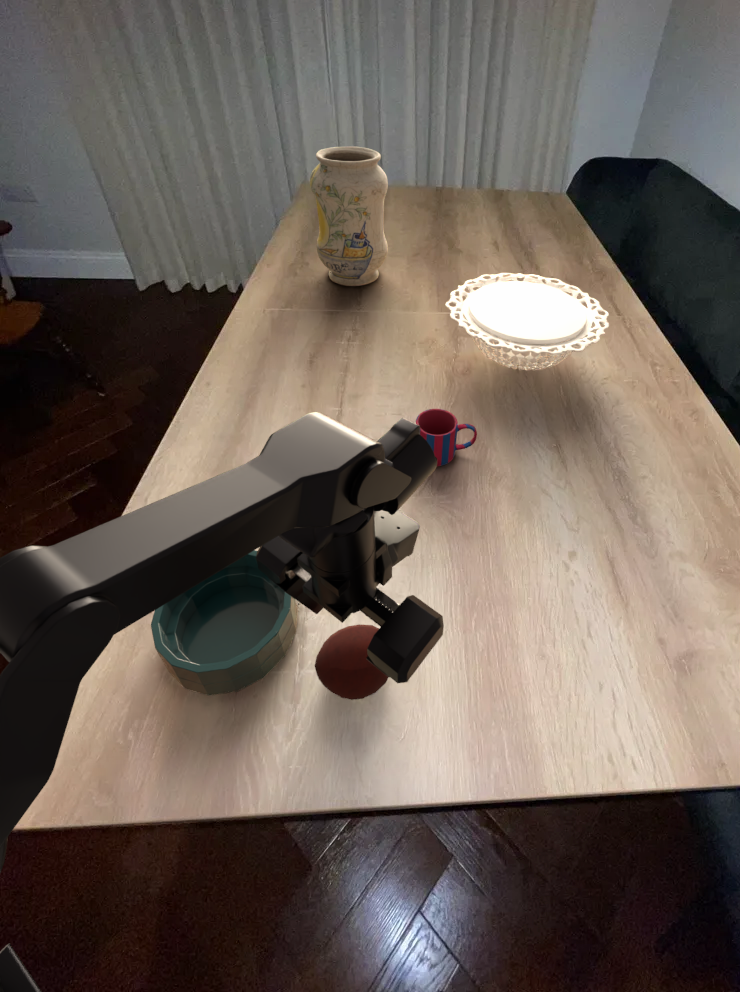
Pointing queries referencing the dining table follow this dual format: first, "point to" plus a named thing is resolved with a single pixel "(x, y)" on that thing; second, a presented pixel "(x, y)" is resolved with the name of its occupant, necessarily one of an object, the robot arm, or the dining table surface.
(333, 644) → the potato
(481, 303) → the white lattice bowl
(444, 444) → the mug
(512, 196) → the dining table surface
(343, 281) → the vase
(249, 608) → the bowl
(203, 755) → the dining table surface
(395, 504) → the robot arm
